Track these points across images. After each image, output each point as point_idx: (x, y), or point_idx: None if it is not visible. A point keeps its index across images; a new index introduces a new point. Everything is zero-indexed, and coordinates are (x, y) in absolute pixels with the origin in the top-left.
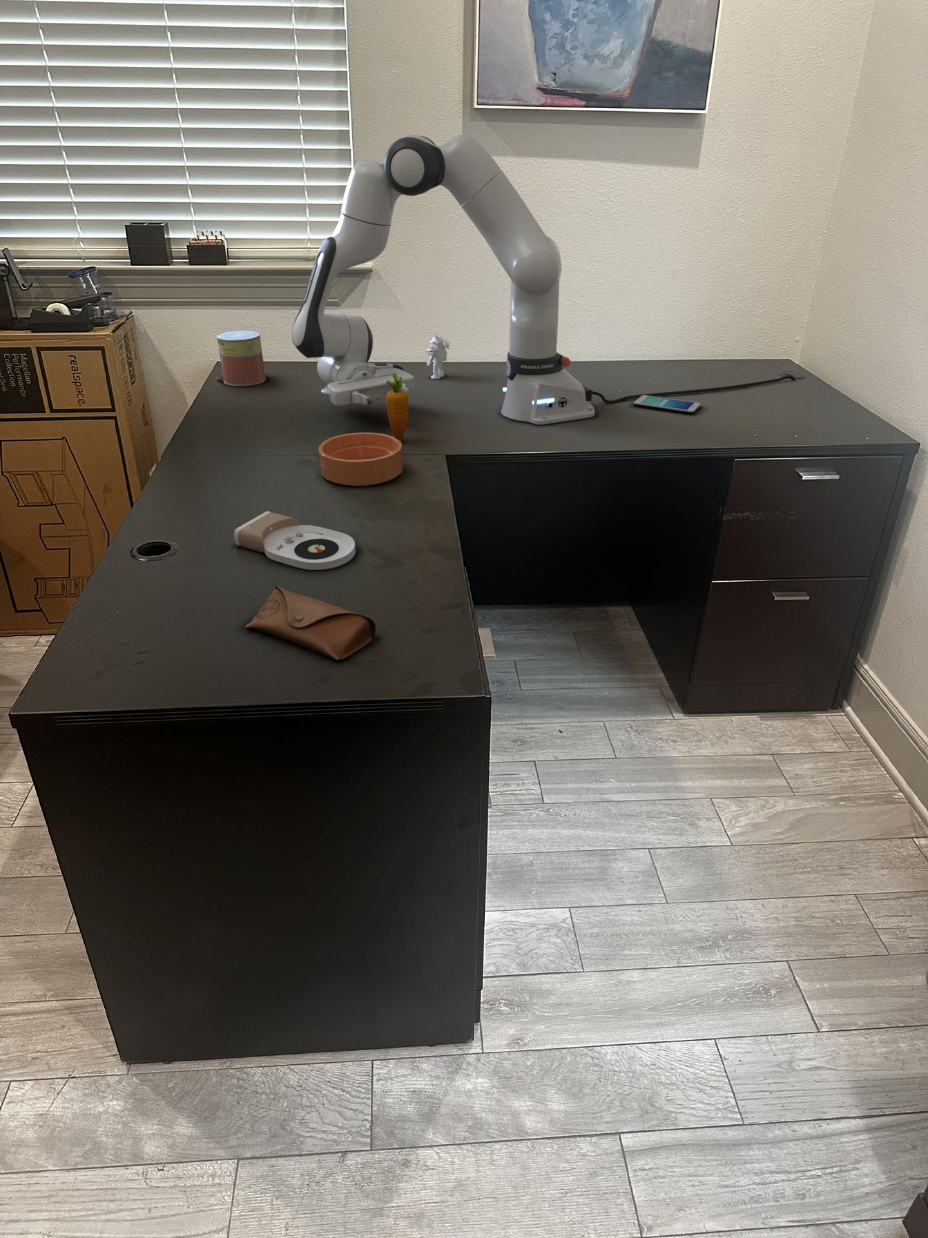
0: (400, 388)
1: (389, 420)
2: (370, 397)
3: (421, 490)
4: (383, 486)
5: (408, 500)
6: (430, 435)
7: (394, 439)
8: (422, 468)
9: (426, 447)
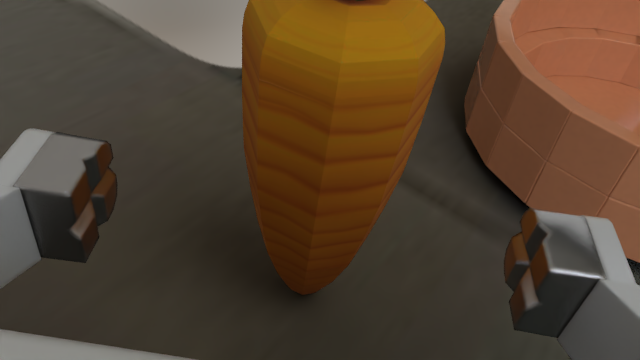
0: (76, 177)
1: (392, 191)
2: (533, 213)
3: (486, 11)
4: None
5: None
6: None
7: (509, 31)
8: None
9: (246, 164)
